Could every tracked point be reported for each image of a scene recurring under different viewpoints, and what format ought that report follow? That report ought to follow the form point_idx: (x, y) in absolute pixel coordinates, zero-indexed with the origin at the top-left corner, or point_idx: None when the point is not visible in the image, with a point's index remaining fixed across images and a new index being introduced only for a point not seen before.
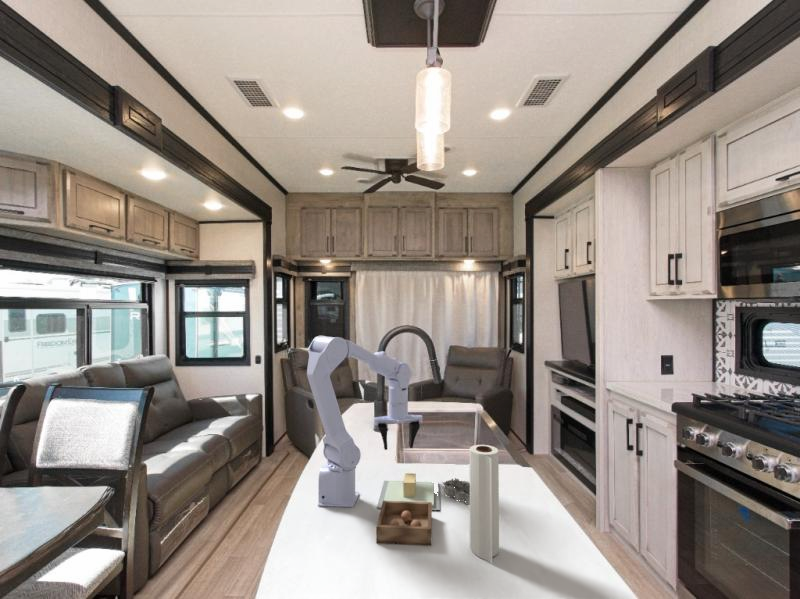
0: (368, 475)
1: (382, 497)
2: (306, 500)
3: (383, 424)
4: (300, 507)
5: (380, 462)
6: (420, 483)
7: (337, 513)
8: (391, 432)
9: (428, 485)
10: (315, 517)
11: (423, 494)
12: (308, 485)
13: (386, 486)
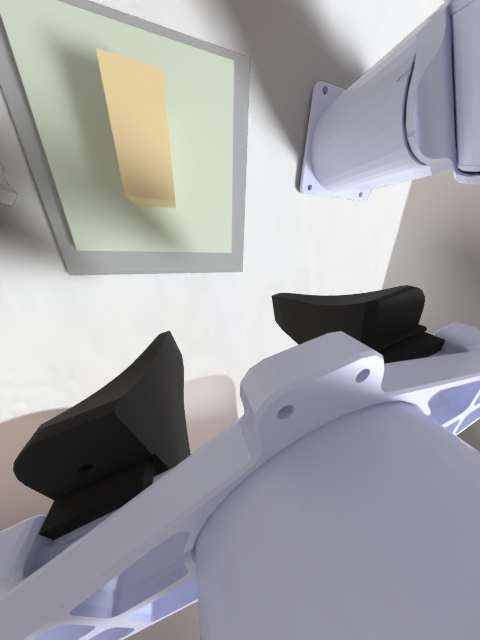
0: None
1: (238, 149)
2: None
3: (403, 352)
4: None
5: None
6: (127, 239)
7: (352, 47)
8: None
9: (91, 223)
10: (402, 26)
11: (87, 130)
12: (386, 240)
13: (233, 234)
